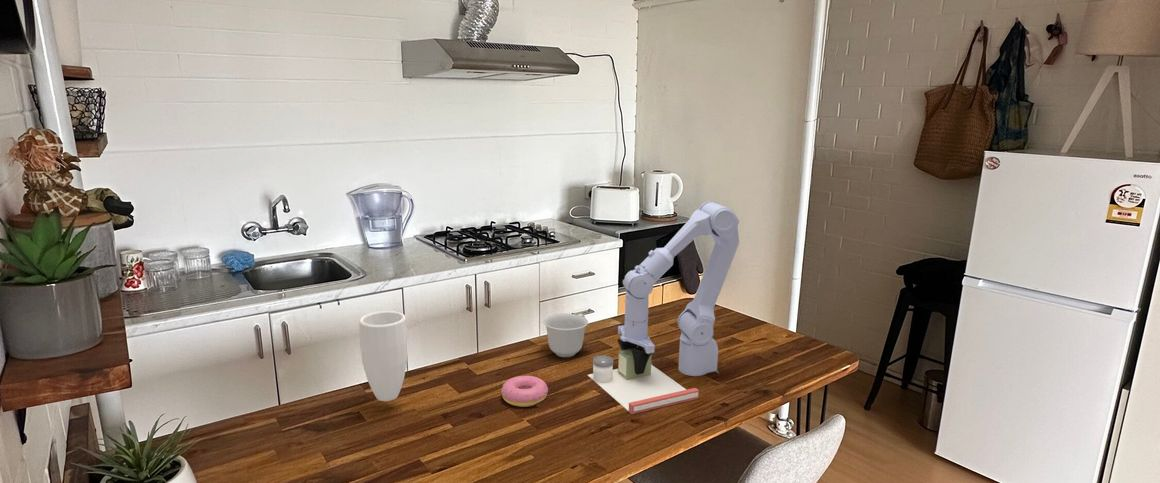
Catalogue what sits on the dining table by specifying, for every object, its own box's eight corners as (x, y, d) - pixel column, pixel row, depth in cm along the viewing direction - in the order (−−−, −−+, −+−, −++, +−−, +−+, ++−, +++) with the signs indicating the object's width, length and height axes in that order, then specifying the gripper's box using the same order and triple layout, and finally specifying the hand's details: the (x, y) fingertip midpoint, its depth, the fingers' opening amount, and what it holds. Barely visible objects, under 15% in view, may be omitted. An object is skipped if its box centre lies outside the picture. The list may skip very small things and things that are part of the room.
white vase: (420, 401, 148) (416, 313, 143) (394, 423, 139) (388, 329, 134) (382, 394, 152) (377, 307, 147) (353, 415, 142) (347, 322, 137)
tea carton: (641, 368, 166) (642, 346, 165) (650, 375, 162) (651, 352, 161) (617, 373, 163) (618, 351, 162) (626, 380, 159) (627, 357, 158)
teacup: (601, 349, 179) (602, 315, 177) (571, 368, 167) (572, 332, 165) (565, 340, 186) (565, 307, 183) (534, 358, 173) (534, 322, 171)
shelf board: (648, 365, 170) (648, 355, 169) (698, 401, 150) (699, 390, 150) (587, 377, 162) (587, 367, 161) (632, 417, 143) (632, 406, 142)
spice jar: (606, 372, 163) (607, 354, 162) (616, 380, 159) (617, 361, 158) (589, 376, 161) (589, 357, 160) (598, 384, 157) (598, 365, 155)
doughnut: (517, 384, 158) (516, 368, 157) (556, 394, 154) (556, 377, 153) (492, 403, 149) (491, 386, 148) (533, 414, 144) (533, 396, 143)
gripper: (608, 311, 164) (606, 361, 167) (637, 330, 151) (635, 384, 154) (632, 308, 167) (630, 356, 170) (662, 326, 154) (660, 378, 157)
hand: (634, 369), depth 162 cm, fingers closed on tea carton, 4 cm apart
